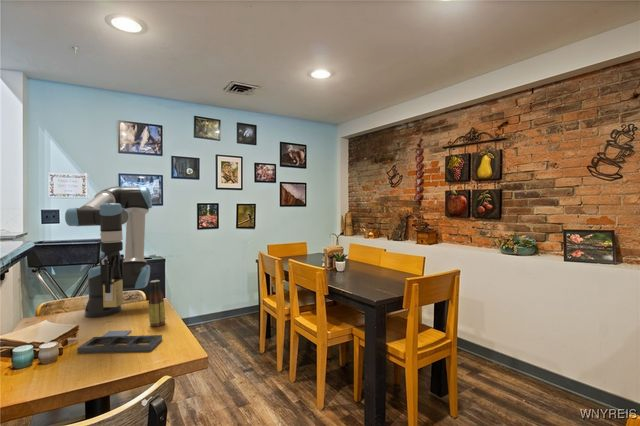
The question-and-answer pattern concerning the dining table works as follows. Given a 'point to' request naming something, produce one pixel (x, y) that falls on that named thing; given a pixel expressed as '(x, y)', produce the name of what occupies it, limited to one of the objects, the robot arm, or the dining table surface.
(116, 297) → the tan block
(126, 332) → the tile
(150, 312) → the sauce bottle
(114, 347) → the grey slotted tray
